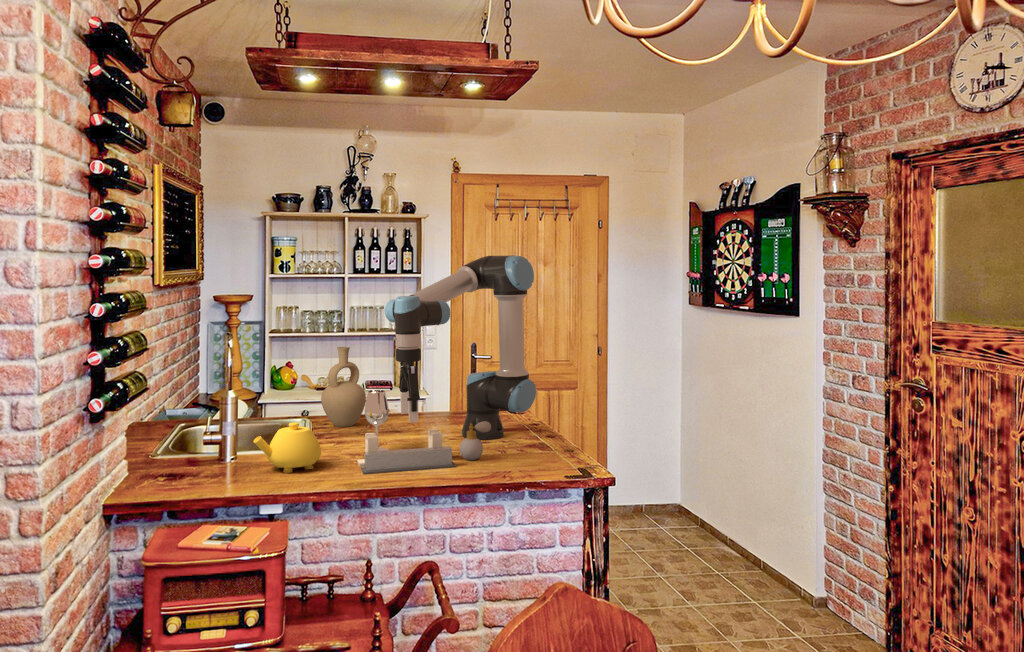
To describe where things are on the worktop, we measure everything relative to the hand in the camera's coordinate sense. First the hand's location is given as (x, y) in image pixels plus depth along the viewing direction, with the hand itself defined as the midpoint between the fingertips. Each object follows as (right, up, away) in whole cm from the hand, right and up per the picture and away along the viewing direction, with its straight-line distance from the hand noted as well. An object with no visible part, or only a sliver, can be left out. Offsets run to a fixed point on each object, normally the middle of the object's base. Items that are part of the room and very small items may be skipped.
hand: (409, 417), depth 237 cm
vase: (-33, -11, +63) cm, 72 cm away
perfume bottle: (+19, -15, +13) cm, 27 cm away
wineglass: (-14, -14, +22) cm, 30 cm away
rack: (-3, -15, +9) cm, 18 cm away
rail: (0, -15, +1) cm, 15 cm away
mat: (0, -15, +1) cm, 15 cm away
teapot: (-37, -16, 0) cm, 40 cm away
